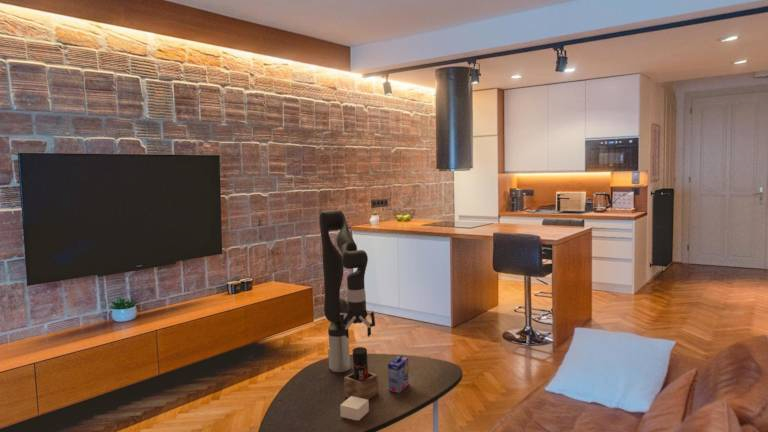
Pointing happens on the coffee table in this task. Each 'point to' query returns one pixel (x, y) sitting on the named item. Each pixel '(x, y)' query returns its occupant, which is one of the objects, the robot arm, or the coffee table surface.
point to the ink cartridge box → (398, 374)
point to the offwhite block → (354, 408)
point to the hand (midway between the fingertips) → (358, 336)
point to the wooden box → (361, 386)
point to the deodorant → (360, 363)
